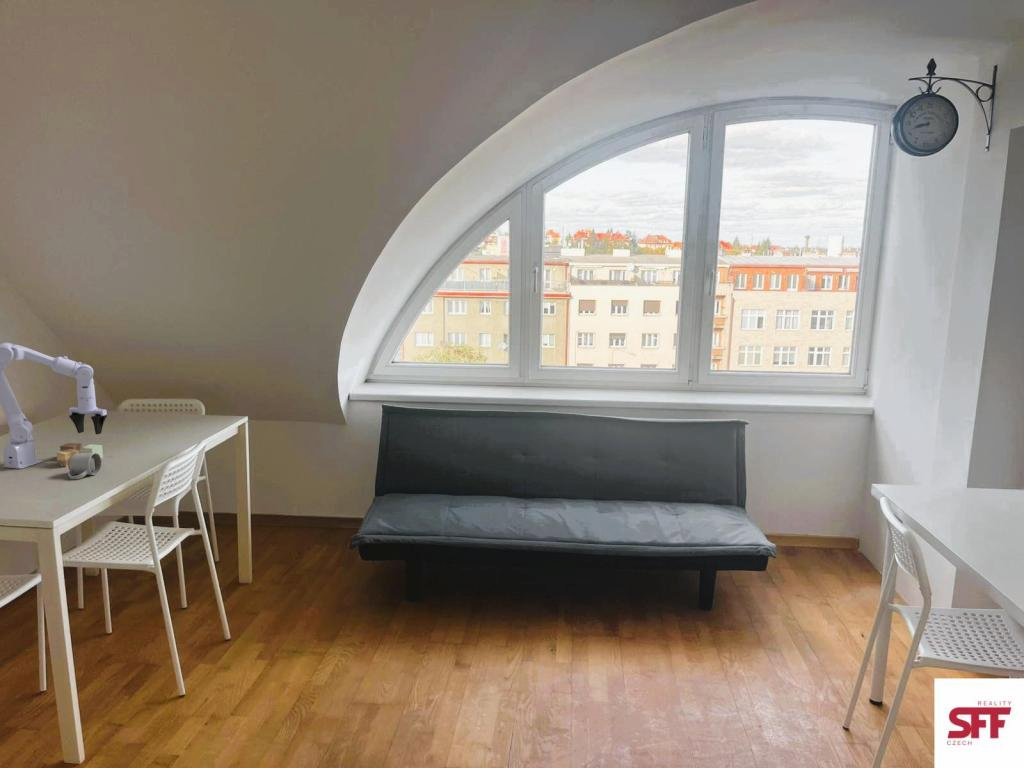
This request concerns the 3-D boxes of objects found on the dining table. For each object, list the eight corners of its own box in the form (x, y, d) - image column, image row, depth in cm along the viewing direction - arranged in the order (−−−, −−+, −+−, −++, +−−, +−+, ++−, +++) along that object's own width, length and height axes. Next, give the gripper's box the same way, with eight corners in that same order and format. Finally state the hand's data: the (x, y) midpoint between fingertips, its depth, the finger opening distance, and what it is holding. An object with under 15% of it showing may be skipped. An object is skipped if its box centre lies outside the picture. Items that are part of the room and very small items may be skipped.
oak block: (66, 467, 267) (64, 453, 267) (57, 465, 270) (56, 452, 269) (79, 464, 272) (78, 450, 271) (71, 462, 274) (70, 448, 273)
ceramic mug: (80, 470, 264) (78, 449, 262) (103, 471, 264) (101, 450, 262) (61, 480, 253) (59, 458, 252) (85, 480, 253) (83, 459, 252)
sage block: (93, 461, 275) (92, 448, 274) (81, 460, 276) (80, 447, 275) (103, 458, 280) (102, 445, 279) (91, 457, 281) (90, 444, 280)
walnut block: (74, 459, 277) (73, 446, 276) (61, 459, 277) (60, 446, 277) (82, 455, 282) (81, 443, 281) (69, 455, 282) (68, 442, 281)
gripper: (111, 396, 278) (114, 431, 280) (77, 394, 281) (81, 429, 283) (97, 400, 271) (100, 436, 273) (63, 397, 274) (66, 433, 276)
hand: (89, 433), depth 278 cm, fingers open, 7 cm apart
